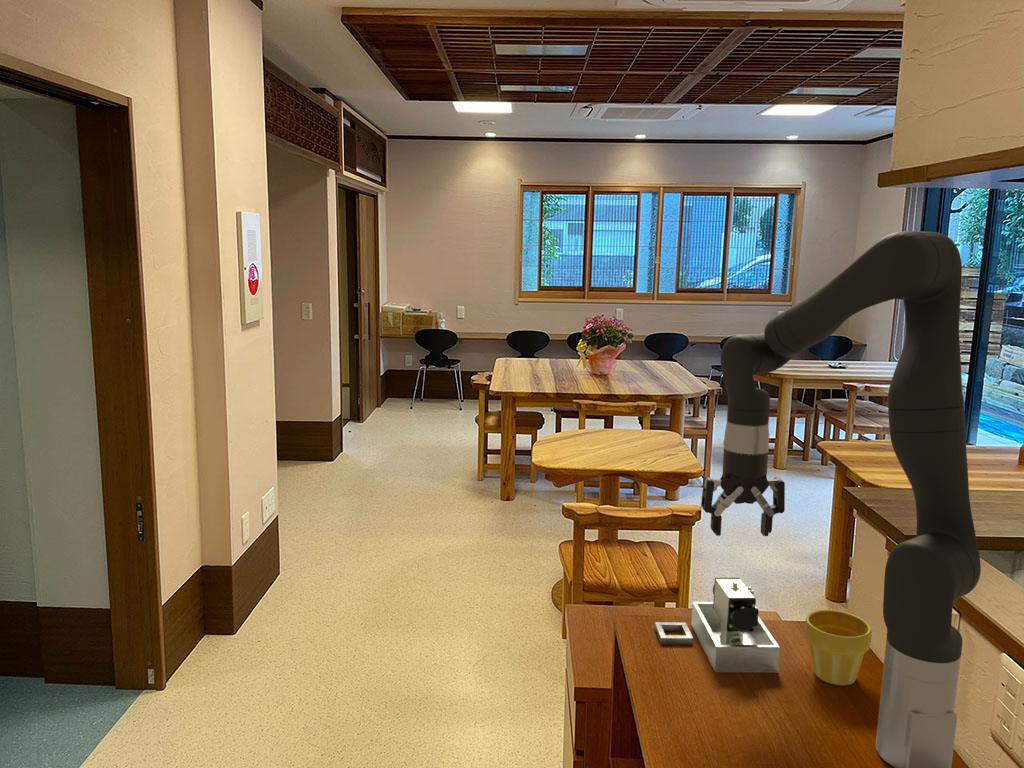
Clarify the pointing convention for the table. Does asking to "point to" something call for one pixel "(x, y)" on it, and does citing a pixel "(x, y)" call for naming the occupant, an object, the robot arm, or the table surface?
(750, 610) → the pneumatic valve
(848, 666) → the plant pot
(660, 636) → the gray square frame
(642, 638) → the table surface
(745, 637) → the seat cradle
